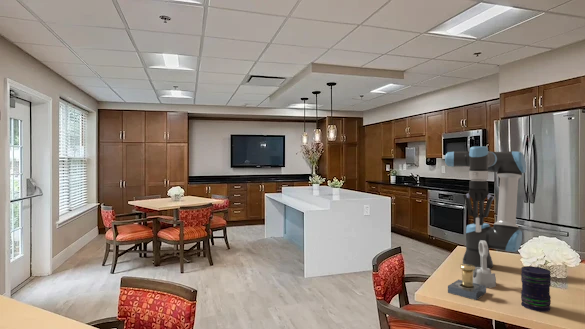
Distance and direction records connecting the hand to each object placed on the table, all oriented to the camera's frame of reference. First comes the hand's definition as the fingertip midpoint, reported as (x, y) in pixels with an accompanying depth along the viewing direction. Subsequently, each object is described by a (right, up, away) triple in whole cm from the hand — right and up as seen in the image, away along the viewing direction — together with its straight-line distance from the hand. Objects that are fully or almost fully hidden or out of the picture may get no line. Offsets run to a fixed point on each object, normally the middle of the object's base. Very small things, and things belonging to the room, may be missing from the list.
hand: (478, 231), depth 163 cm
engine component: (+7, -27, +8) cm, 28 cm away
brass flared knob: (-7, -27, -4) cm, 28 cm away
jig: (-7, -27, -4) cm, 28 cm away
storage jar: (+13, -27, -19) cm, 35 cm away
